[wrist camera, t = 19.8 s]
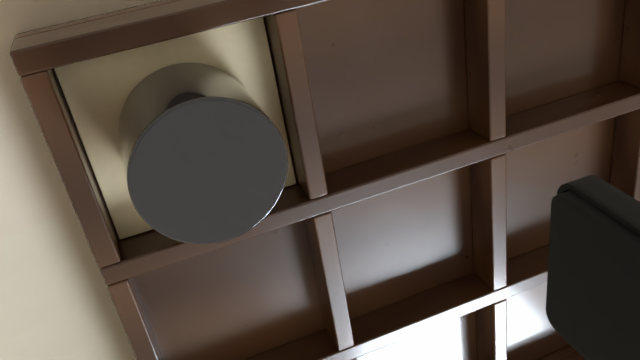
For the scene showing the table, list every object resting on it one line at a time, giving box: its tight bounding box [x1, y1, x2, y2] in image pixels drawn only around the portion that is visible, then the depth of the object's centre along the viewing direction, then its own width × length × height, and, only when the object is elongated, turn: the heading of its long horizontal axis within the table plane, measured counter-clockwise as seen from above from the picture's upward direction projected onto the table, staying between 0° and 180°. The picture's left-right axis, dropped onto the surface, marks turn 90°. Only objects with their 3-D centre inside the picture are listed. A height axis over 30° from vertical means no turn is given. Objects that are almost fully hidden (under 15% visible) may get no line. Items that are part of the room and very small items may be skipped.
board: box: [10, 0, 640, 360], centre depth 25 cm, size 22×22×2 cm
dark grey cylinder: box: [118, 63, 288, 244], centre depth 18 cm, size 4×4×4 cm
